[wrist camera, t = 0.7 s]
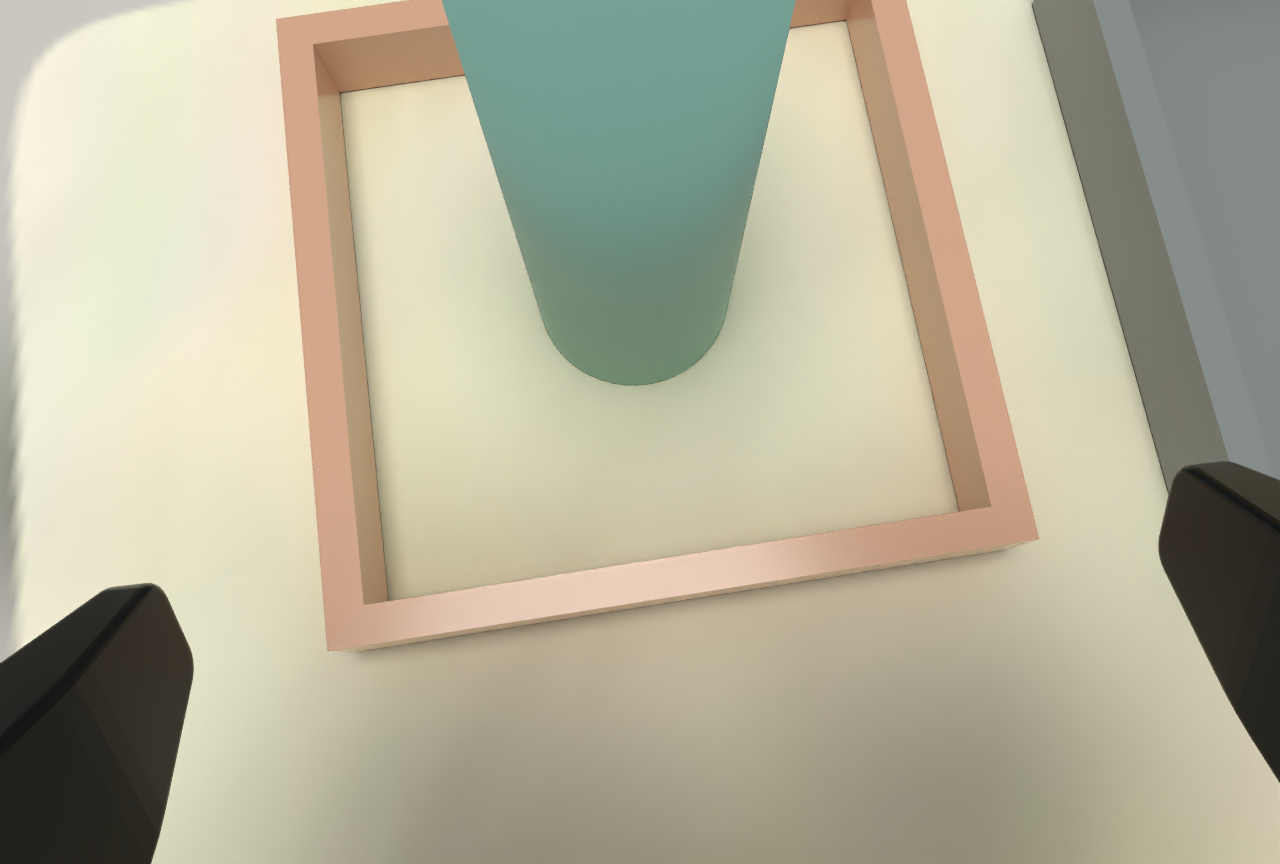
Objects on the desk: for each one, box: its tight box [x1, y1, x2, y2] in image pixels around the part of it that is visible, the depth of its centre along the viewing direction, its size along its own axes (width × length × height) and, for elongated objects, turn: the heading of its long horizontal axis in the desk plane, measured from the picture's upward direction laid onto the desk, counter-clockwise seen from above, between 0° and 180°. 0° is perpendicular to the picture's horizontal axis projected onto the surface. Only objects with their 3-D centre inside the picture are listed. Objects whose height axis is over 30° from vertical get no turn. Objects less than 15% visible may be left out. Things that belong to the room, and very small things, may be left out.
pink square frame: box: [276, 0, 1039, 652], centre depth 22 cm, size 15×15×2 cm
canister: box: [441, 0, 796, 385], centre depth 17 cm, size 4×4×14 cm
